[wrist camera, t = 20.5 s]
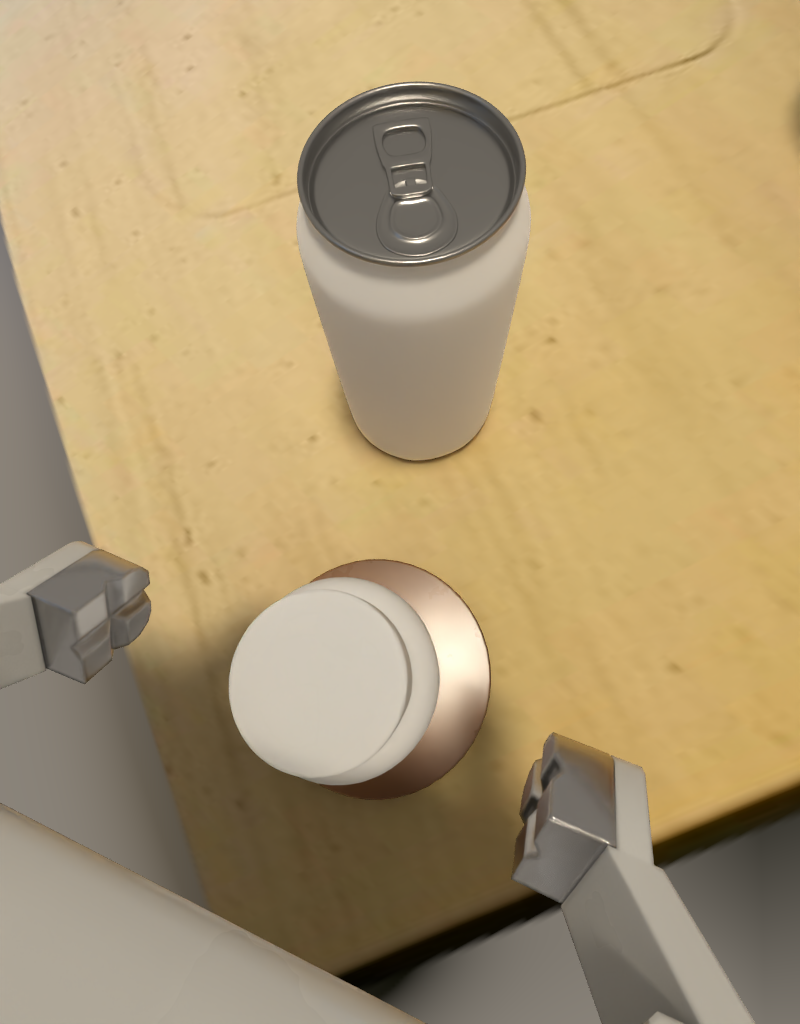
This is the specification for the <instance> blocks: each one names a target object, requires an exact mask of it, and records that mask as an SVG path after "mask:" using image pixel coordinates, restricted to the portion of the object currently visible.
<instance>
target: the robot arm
mask: <svg viewBox="0 0 800 1024" xmlns="http://www.w3.org/2000/svg"><path fill="white" fill-rule="evenodd" d="M149 584H150V581H149V572H148V570H146V569H144V568H143V567H141V566H138V565H136V564H134V563H132V562H129V561H127V560H125V559H122V558H120V557H118V556H116V555H113V554H111V553H109V552H106V551H104V550H102V549H99V548H96V547H94V546H92V545H89V544H87V543H84V542H82V541H78V542H71V543H69V544H68V545H66V546H64V547H63V548H61V549H59V550H57V551H55V552H54V553H52V554H50V555H49V556H47V557H45V558H44V559H42V560H40V561H39V562H37V563H35V564H34V565H32V566H30V567H28V568H27V569H25V570H24V571H22V572H20V573H18V574H17V575H15V576H13V577H12V578H10V579H8V580H7V581H5V582H3V583H0V689H2V688H4V687H7V686H9V685H12V684H14V683H17V682H19V681H22V680H24V679H27V678H29V677H32V676H34V675H37V674H39V673H42V672H44V671H46V668H47V669H50V670H52V671H54V672H56V673H59V674H61V675H64V676H66V677H68V678H71V679H73V680H76V681H78V682H80V683H83V684H86V683H87V682H88V681H89V680H90V679H91V678H92V677H94V675H96V674H97V673H98V672H99V671H100V670H101V669H102V668H104V667H105V666H106V665H107V664H108V663H109V662H110V661H111V660H112V656H113V651H114V649H117V648H120V647H124V646H127V645H129V644H131V643H132V642H133V641H134V640H135V639H136V638H137V637H138V636H139V635H140V634H141V632H142V631H143V629H144V628H145V626H146V624H147V623H148V621H149V617H150V613H151V601H150V599H149V598H148V596H147V594H146V593H145V591H144V589H145V588H146V587H147V586H148V585H149ZM519 814H520V817H521V819H522V821H523V823H524V826H523V828H522V830H521V831H520V833H519V835H518V837H517V838H516V843H515V851H514V859H513V868H512V876H511V879H512V880H514V881H516V882H518V883H520V884H522V885H524V886H526V887H528V888H530V889H533V890H535V891H537V892H539V893H541V894H543V895H545V896H547V897H549V898H551V899H553V900H555V901H557V902H559V903H561V904H562V905H561V909H562V911H563V914H564V917H565V920H566V923H567V926H568V929H569V931H570V934H571V937H572V940H573V943H574V946H575V949H576V951H577V954H578V957H579V960H580V963H581V965H582V968H583V971H584V974H585V977H586V980H587V983H588V986H589V988H590V991H591V994H592V997H593V1000H594V1003H595V1006H596V1008H597V1011H598V1014H599V1017H600V1020H601V1022H602V1024H755V1022H754V1021H753V1019H752V1017H751V1016H750V1014H749V1012H748V1010H747V1009H746V1007H745V1005H744V1004H743V1002H742V1000H741V999H740V997H739V995H738V994H737V992H736V990H735V989H734V987H733V985H732V984H731V982H730V980H729V979H728V977H727V975H726V974H725V972H724V970H723V969H722V967H721V965H720V964H719V962H718V960H717V959H716V957H715V955H714V954H713V952H712V950H711V949H710V947H709V945H708V943H707V942H706V940H705V939H704V937H703V935H702V933H701V932H700V930H699V928H698V927H697V925H696V924H695V922H694V920H693V918H692V917H691V915H690V913H689V912H688V910H687V908H686V907H685V905H684V903H683V902H682V900H681V898H680V897H679V895H678V893H677V892H676V890H675V888H674V887H673V885H672V883H671V882H670V880H669V878H668V876H667V875H666V873H665V871H664V870H663V869H661V868H659V867H657V866H654V862H653V852H652V841H651V830H650V820H649V809H648V798H647V788H646V777H645V772H644V771H643V769H642V767H640V766H638V765H635V764H632V763H630V762H627V761H625V760H622V759H620V758H617V757H615V756H612V755H611V756H610V755H609V754H608V753H605V752H603V751H600V750H598V749H595V748H593V747H590V746H587V745H585V744H582V743H580V742H577V741H575V740H572V739H569V738H567V737H564V736H562V735H559V734H557V733H554V732H553V733H552V734H551V735H549V737H548V739H547V740H546V742H545V744H544V748H543V757H542V759H539V760H536V761H535V762H534V764H533V766H532V768H531V770H530V772H529V775H528V778H527V781H526V784H525V786H524V791H523V795H522V800H521V807H520V813H519ZM0 1024H426V1023H424V1022H422V1021H420V1020H419V1019H417V1018H415V1017H413V1016H410V1015H409V1014H407V1013H405V1012H403V1011H401V1010H399V1009H397V1008H395V1007H393V1006H391V1005H390V1004H388V1003H386V1002H384V1001H382V1000H380V999H378V998H376V997H374V996H372V995H370V994H368V993H366V992H365V991H363V990H361V989H359V988H357V987H355V986H353V985H351V984H349V983H347V982H345V981H343V980H341V979H339V978H338V977H336V976H334V975H332V974H330V973H328V972H326V971H324V970H322V969H320V968H318V967H316V966H314V965H312V964H311V963H309V962H307V961H305V960H303V959H301V958H299V957H297V956H295V955H293V954H291V953H289V952H287V951H285V950H284V949H282V948H280V947H278V946H276V945H274V944H272V943H270V942H268V941H266V940H264V939H262V938H260V937H258V936H256V935H255V934H253V933H251V932H249V931H247V930H245V929H243V928H241V927H239V926H237V925H235V924H233V923H231V922H229V921H228V920H226V919H224V918H222V917H220V916H218V915H216V914H214V913H212V912H210V911H208V910H206V909H204V908H202V907H200V906H198V905H196V904H195V903H193V902H191V901H189V900H187V899H185V898H183V897H181V896H179V895H177V894H175V893H174V892H172V891H170V890H168V889H166V888H164V887H162V886H160V885H158V884H156V883H154V882H152V881H150V880H148V879H146V878H145V877H143V876H141V875H139V874H137V873H135V872H133V871H131V870H129V869H127V868H125V867H123V866H121V865H119V864H118V863H116V862H114V861H112V860H110V859H108V858H106V857H104V856H102V855H100V854H98V853H96V852H94V851H92V850H90V849H89V848H87V847H85V846H83V845H81V844H79V843H77V842H75V841H73V840H71V839H69V838H67V837H65V836H64V835H61V834H60V833H58V832H55V831H54V830H52V829H50V828H48V827H46V826H44V825H42V824H40V823H38V822H36V821H35V820H33V819H31V818H29V817H27V816H25V815H23V814H21V813H19V812H17V811H15V810H13V809H11V808H9V807H7V806H5V805H4V804H2V803H0Z"/></svg>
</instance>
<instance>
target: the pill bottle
mask: <svg viewBox="0 0 800 1024" xmlns="http://www.w3.org/2000/svg"><path fill="white" fill-rule="evenodd" d="M439 686H440V673H439V665H438V659H437V654H436V651H435V647H434V644H433V642H432V639H431V637H430V634H429V632H428V630H427V628H426V626H425V624H424V623H423V621H422V620H421V618H420V617H419V615H418V614H417V613H416V612H415V610H414V609H413V608H412V607H411V606H410V605H409V604H408V603H407V602H406V601H405V600H404V599H402V598H401V597H400V596H399V595H397V594H396V593H394V592H393V591H391V590H389V589H387V588H385V587H384V586H381V585H379V584H377V583H374V582H371V581H367V580H364V579H358V578H351V577H335V578H327V579H322V580H318V581H314V582H311V583H309V584H306V585H304V586H302V587H300V588H298V589H296V590H294V591H292V592H291V593H289V594H288V595H286V596H285V597H283V598H282V599H281V600H279V601H277V602H275V603H273V604H272V605H271V606H269V607H268V608H266V609H265V610H264V611H263V612H262V613H261V614H260V615H259V616H258V617H257V618H256V619H255V620H254V621H253V622H252V623H251V624H250V626H249V627H248V628H247V630H246V632H245V633H244V635H243V636H242V638H241V640H240V642H239V644H238V646H237V649H236V651H235V653H234V656H233V659H232V663H231V669H230V675H229V700H230V706H231V710H232V714H233V718H234V721H235V723H236V726H237V728H238V730H239V731H240V734H241V736H242V737H243V739H244V740H245V742H246V743H247V744H248V746H249V747H250V748H251V749H252V751H253V752H254V753H255V754H256V755H257V756H259V757H260V758H261V759H262V760H263V761H265V762H266V763H267V764H269V765H270V766H272V767H274V768H275V769H278V770H280V771H282V772H285V773H287V774H290V775H293V776H297V777H300V778H302V779H305V780H308V781H311V782H315V783H319V784H325V785H349V784H356V783H361V782H364V781H367V780H369V779H372V778H375V777H377V776H379V775H381V774H383V773H385V772H387V771H388V770H390V769H392V768H393V767H394V766H396V765H397V764H398V763H400V762H401V761H402V760H403V759H404V758H405V757H406V756H407V755H408V754H409V753H410V752H411V751H412V750H413V749H414V748H415V746H416V745H417V744H418V742H419V741H420V740H421V738H422V736H423V735H424V733H425V731H426V730H427V728H428V726H429V723H430V721H431V719H432V716H433V713H434V711H435V708H436V704H437V699H438V693H439Z"/></svg>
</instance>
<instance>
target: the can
mask: <svg viewBox="0 0 800 1024" xmlns="http://www.w3.org/2000/svg"><path fill="white" fill-rule="evenodd" d="M525 177H526V160H525V154H524V150H523V146H522V143H521V141H520V138H519V136H518V134H517V132H516V131H515V129H514V127H513V126H512V124H511V123H510V122H509V121H508V119H507V118H506V117H505V116H504V115H503V114H502V113H501V112H500V111H499V110H498V109H497V108H495V107H494V106H493V105H492V104H490V103H489V102H487V101H486V100H484V99H483V98H481V97H479V96H477V95H475V94H473V93H471V92H469V91H466V90H464V89H461V88H457V87H454V86H450V85H446V84H440V83H433V82H403V83H395V84H390V85H385V86H381V87H378V88H374V89H371V90H369V91H366V92H363V93H361V94H359V95H357V96H355V97H353V98H351V99H349V100H347V101H346V102H344V103H342V104H341V105H340V106H338V107H337V108H335V109H334V110H333V111H332V112H330V113H329V114H328V115H327V116H326V117H325V118H324V119H323V120H322V121H321V122H320V123H319V124H318V126H317V127H316V128H315V129H314V131H313V132H312V134H311V135H310V137H309V138H308V140H307V142H306V144H305V146H304V148H303V151H302V154H301V157H300V160H299V165H298V172H297V186H298V193H299V197H300V203H299V208H298V214H297V239H298V245H299V251H300V255H301V258H302V262H303V265H304V269H305V272H306V276H307V279H308V282H309V285H310V288H311V292H312V295H313V298H314V301H315V304H316V307H317V311H318V314H319V317H320V320H321V323H322V326H323V329H324V332H325V335H326V339H327V342H328V345H329V348H330V351H331V354H332V357H333V360H334V363H335V366H336V369H337V372H338V375H339V378H340V382H341V385H342V388H343V391H344V394H345V397H346V400H347V402H348V405H349V408H350V411H351V414H352V416H353V419H354V421H355V423H356V425H357V427H358V428H359V430H360V431H361V433H362V434H363V435H364V436H365V437H366V438H367V439H368V440H369V441H370V442H371V443H372V444H373V445H374V446H376V447H377V448H379V449H380V450H382V451H384V452H386V453H388V454H390V455H393V456H396V457H399V458H403V459H407V460H428V459H433V458H437V457H441V456H444V455H447V454H449V453H452V452H454V451H456V450H458V449H460V448H461V447H463V446H464V445H466V444H467V443H468V442H469V441H470V440H471V439H472V438H473V437H474V436H475V435H476V434H477V433H478V432H479V430H480V429H481V427H482V426H483V424H484V422H485V420H486V418H487V416H488V413H489V410H490V407H491V403H492V399H493V395H494V391H495V387H496V383H497V379H498V375H499V371H500V366H501V362H502V358H503V354H504V349H505V345H506V341H507V337H508V332H509V328H510V324H511V320H512V315H513V311H514V306H515V302H516V298H517V293H518V289H519V285H520V280H521V276H522V271H523V267H524V262H525V258H526V253H527V247H528V242H529V236H530V226H531V210H530V203H529V198H528V194H527V190H526V187H525Z"/></svg>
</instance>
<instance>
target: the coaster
mask: <svg viewBox="0 0 800 1024" xmlns="http://www.w3.org/2000/svg"><path fill="white" fill-rule="evenodd" d="M335 577H351V578H358V579H364V580H367V581H371V582H374V583H377V584H379V585H381V586H384V587H385V588H387V589H389V590H391V591H393V592H394V593H396V594H397V595H399V596H400V597H401V598H402V599H404V600H405V601H406V602H407V603H408V604H409V605H410V606H411V607H412V608H413V609H414V610H415V612H416V613H417V614H418V615H419V617H420V618H421V620H422V621H423V623H424V624H425V626H426V628H427V630H428V632H429V634H430V637H431V639H432V642H433V644H434V647H435V651H436V654H437V659H438V665H439V673H440V686H439V693H438V699H437V704H436V708H435V711H434V713H433V716H432V719H431V721H430V723H429V726H428V728H427V730H426V731H425V733H424V735H423V736H422V738H421V740H420V741H419V742H418V744H417V745H416V746H415V748H414V749H413V750H412V751H411V752H410V753H409V754H408V755H407V756H406V757H405V758H404V759H403V760H402V761H401V762H400V763H398V764H397V765H396V766H394V767H393V768H392V769H390V770H388V771H387V772H385V773H383V774H381V775H379V776H377V777H375V778H372V779H369V780H367V781H364V782H361V783H356V784H349V785H325V784H319V783H318V784H319V785H321V786H323V787H325V788H327V789H329V790H331V791H333V792H336V793H339V794H342V795H345V796H349V797H353V798H360V799H369V800H383V799H391V798H398V797H401V796H405V795H408V794H412V793H414V792H417V791H419V790H421V789H423V788H426V787H428V786H429V785H431V784H433V783H434V782H436V781H437V780H439V779H441V778H442V777H443V776H444V775H445V774H447V773H448V772H449V771H450V770H451V769H453V768H454V767H455V765H456V764H457V763H458V762H459V761H460V760H461V759H462V758H463V757H464V755H465V754H466V753H467V751H468V750H469V748H470V747H471V745H472V744H473V742H474V740H475V738H476V736H477V735H478V733H479V731H480V729H481V726H482V723H483V720H484V718H485V715H486V711H487V707H488V702H489V698H490V687H491V669H490V660H489V654H488V649H487V646H486V642H485V639H484V636H483V633H482V631H481V629H480V626H479V624H478V622H477V620H476V618H475V617H474V615H473V613H472V612H471V610H470V608H469V607H468V606H467V605H466V603H465V602H464V601H463V600H462V598H461V597H460V596H459V595H458V594H457V593H456V592H455V591H454V590H453V589H452V588H451V587H450V586H449V585H447V584H446V583H445V582H443V581H442V580H441V579H439V578H438V577H436V576H435V575H433V574H431V573H429V572H428V571H426V570H424V569H421V568H419V567H416V566H414V565H411V564H407V563H403V562H399V561H393V560H385V559H372V560H362V561H355V562H352V563H348V564H344V565H341V566H339V567H336V568H334V569H331V570H329V571H327V572H325V573H324V574H322V575H320V576H318V577H317V578H315V579H314V580H313V581H311V582H314V581H318V580H322V579H327V578H335ZM311 582H310V583H311Z"/></svg>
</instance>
